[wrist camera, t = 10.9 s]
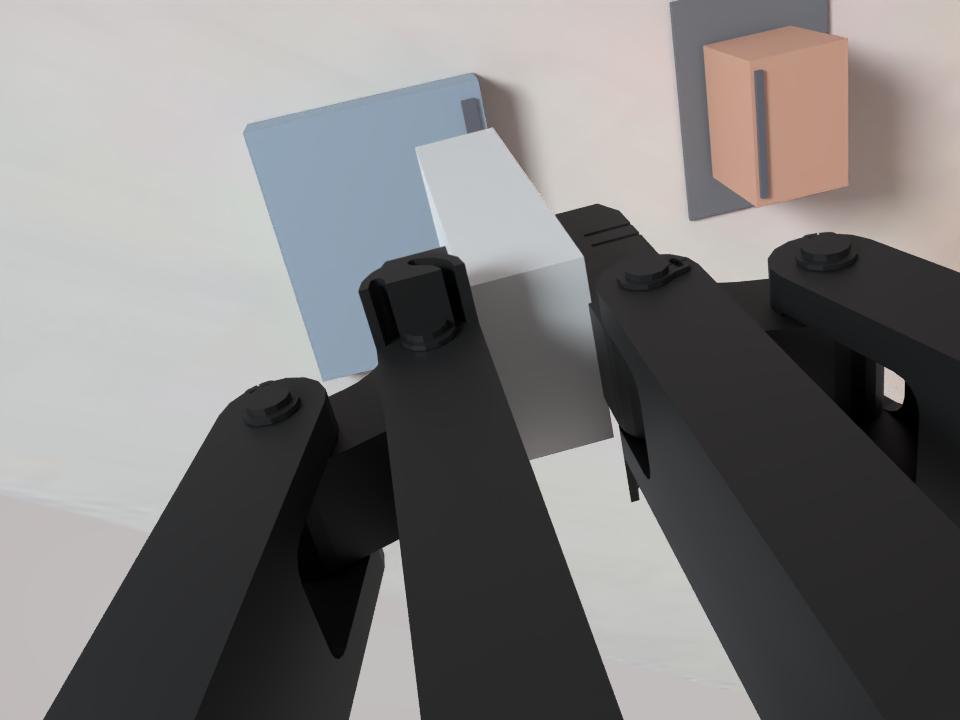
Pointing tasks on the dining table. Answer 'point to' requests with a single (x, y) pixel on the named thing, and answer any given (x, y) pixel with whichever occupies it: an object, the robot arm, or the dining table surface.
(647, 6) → the dining table surface
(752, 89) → the stub
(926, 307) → the robot arm
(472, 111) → the board
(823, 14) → the mat
